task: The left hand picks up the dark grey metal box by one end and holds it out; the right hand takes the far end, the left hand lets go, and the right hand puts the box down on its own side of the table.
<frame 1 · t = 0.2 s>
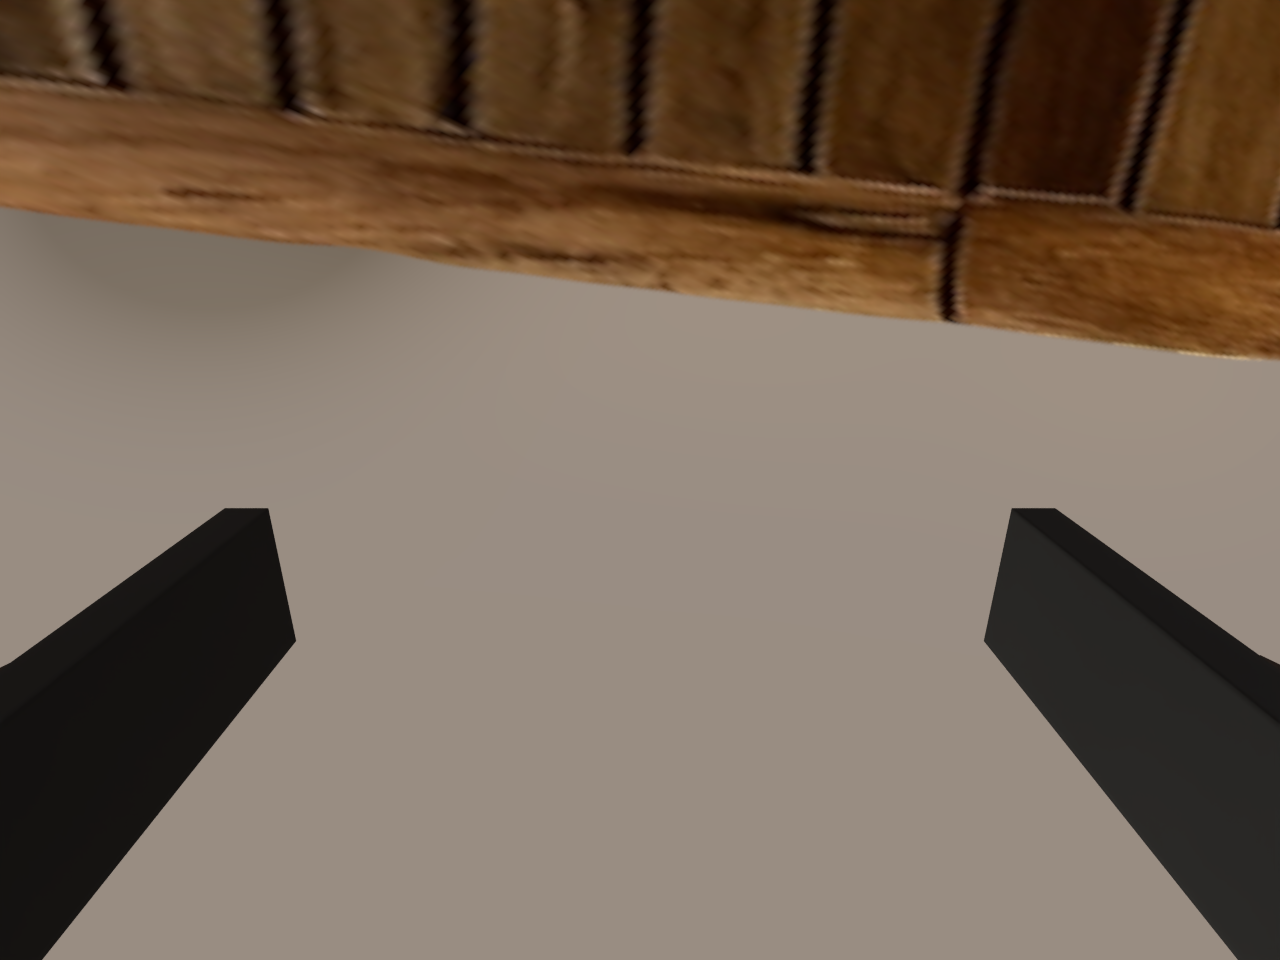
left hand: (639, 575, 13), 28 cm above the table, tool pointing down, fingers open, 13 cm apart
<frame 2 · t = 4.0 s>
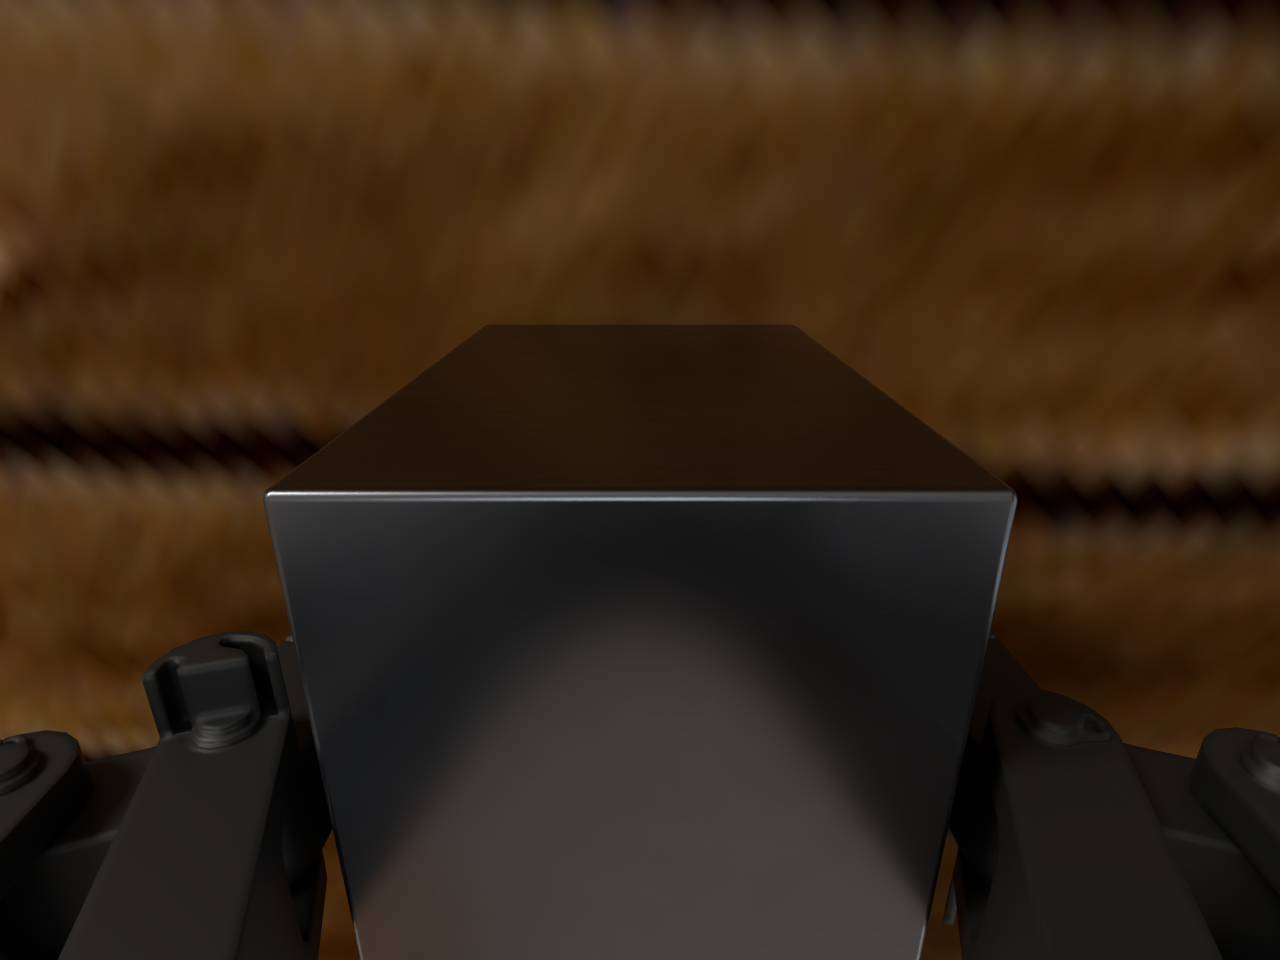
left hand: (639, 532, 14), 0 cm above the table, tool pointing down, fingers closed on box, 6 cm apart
box: (640, 776, 17), on the table, touching left hand
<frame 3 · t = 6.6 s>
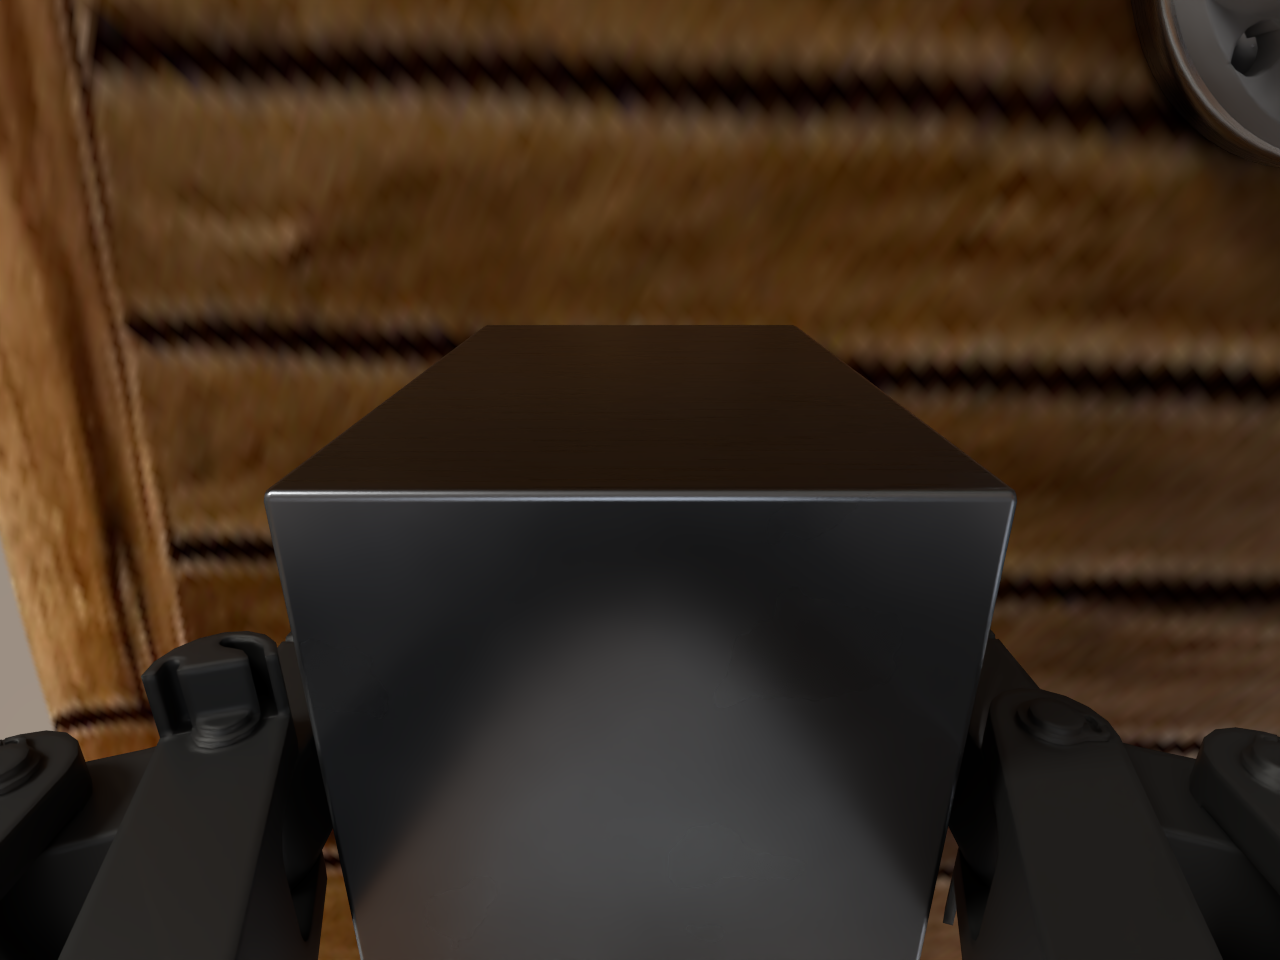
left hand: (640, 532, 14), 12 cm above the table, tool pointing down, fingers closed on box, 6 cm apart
box: (640, 776, 17), point 12 cm above the table, touching left hand
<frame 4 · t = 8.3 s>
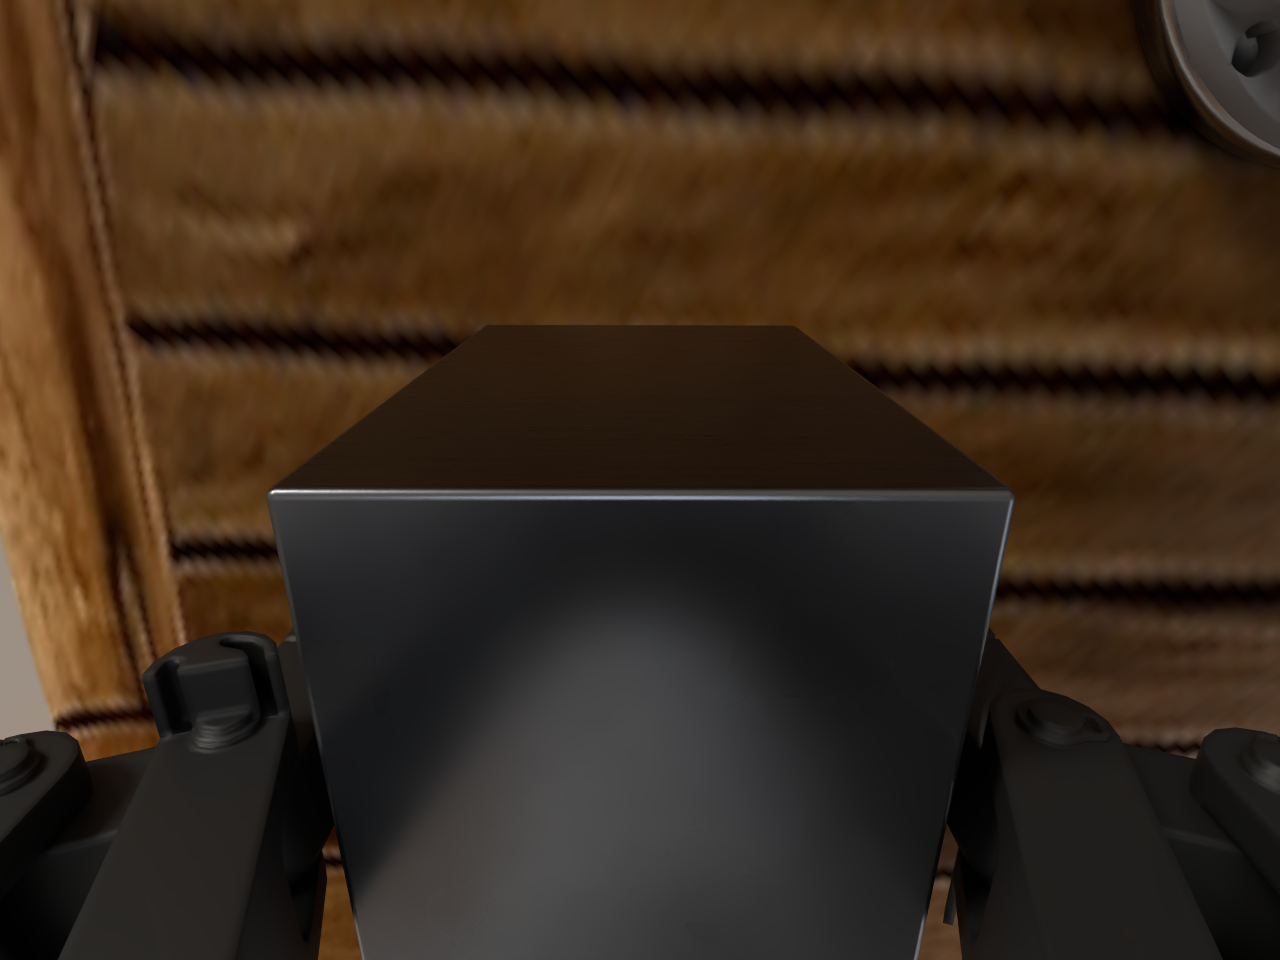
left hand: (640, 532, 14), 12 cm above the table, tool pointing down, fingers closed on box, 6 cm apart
box: (639, 775, 17), point 12 cm above the table, touching left hand, right hand
when the left hand's fingers open (12 cm above the table, at t = 9.3 s): box stays where it is, held by the right hand.
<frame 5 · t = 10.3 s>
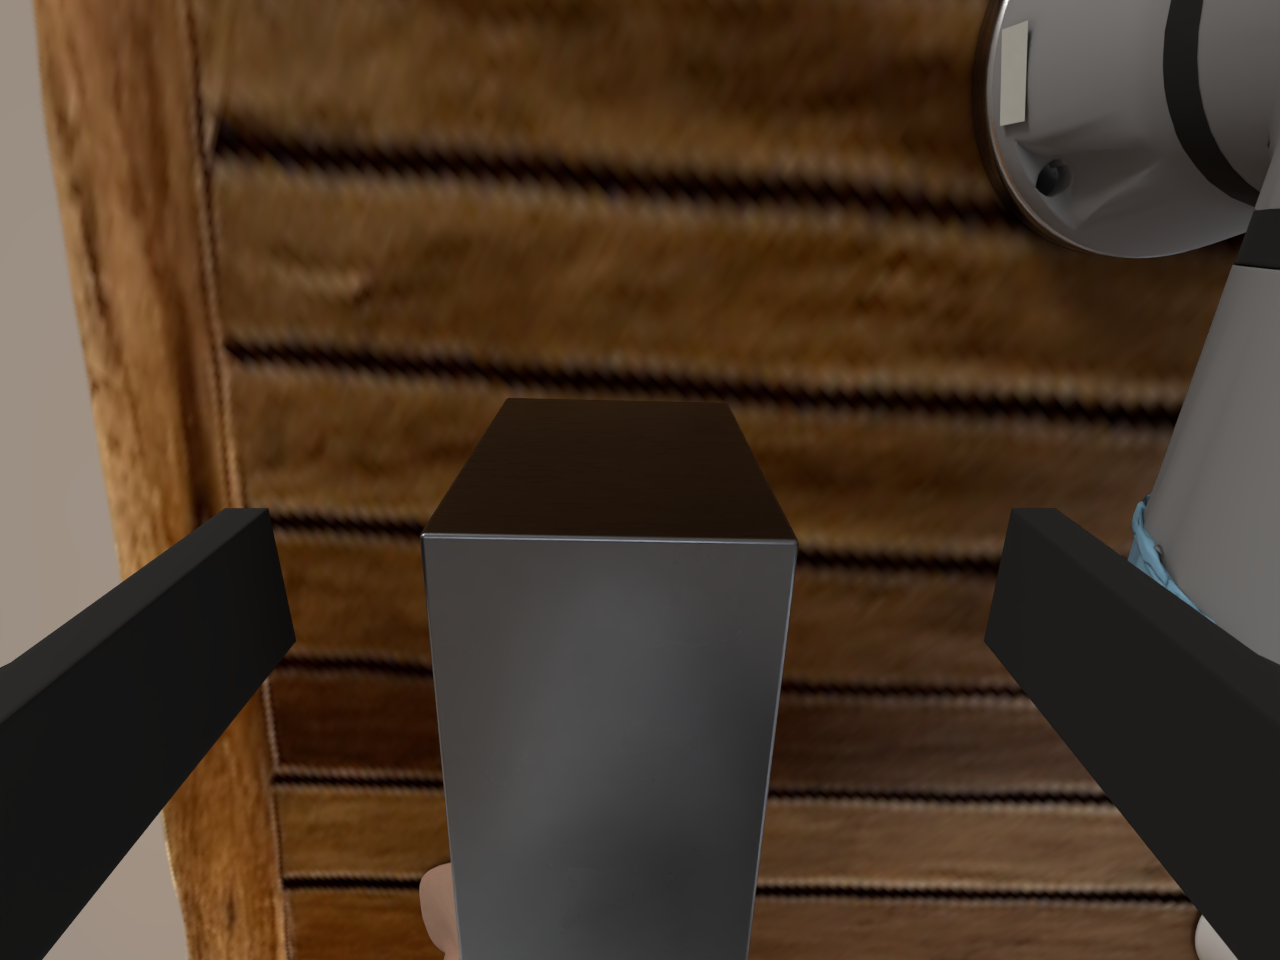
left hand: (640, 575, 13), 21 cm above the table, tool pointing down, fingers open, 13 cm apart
anatomical model: (517, 917, 46), on the table
box: (612, 729, 23), point 14 cm above the table, touching right hand
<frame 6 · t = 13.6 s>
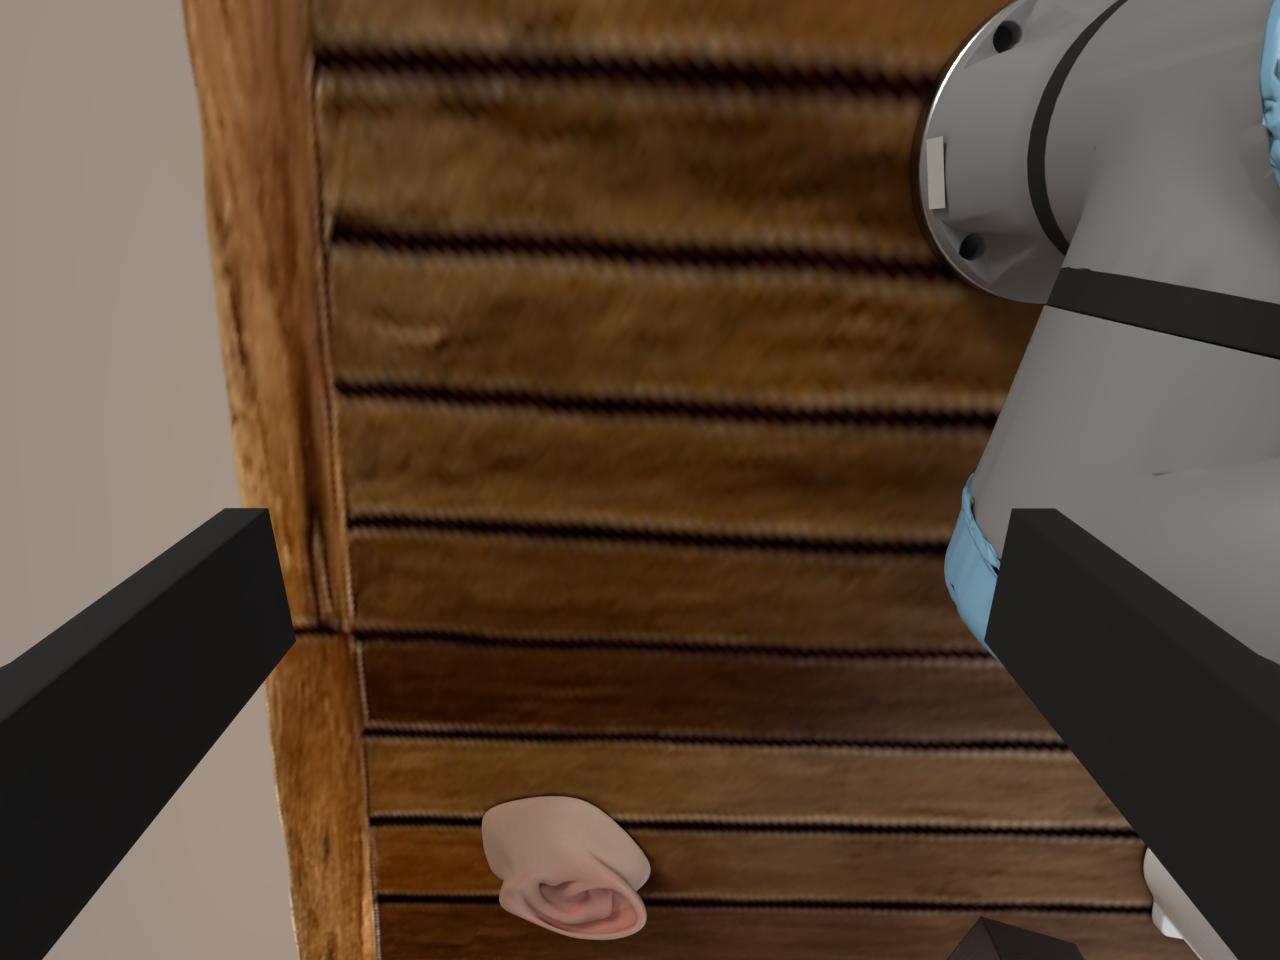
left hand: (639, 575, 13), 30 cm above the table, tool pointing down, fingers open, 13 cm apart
anatomical model: (562, 850, 55), on the table
when the right hand's fingers open (4 cm above the table, at t = 18.9 s): box stays where it is, on the table.
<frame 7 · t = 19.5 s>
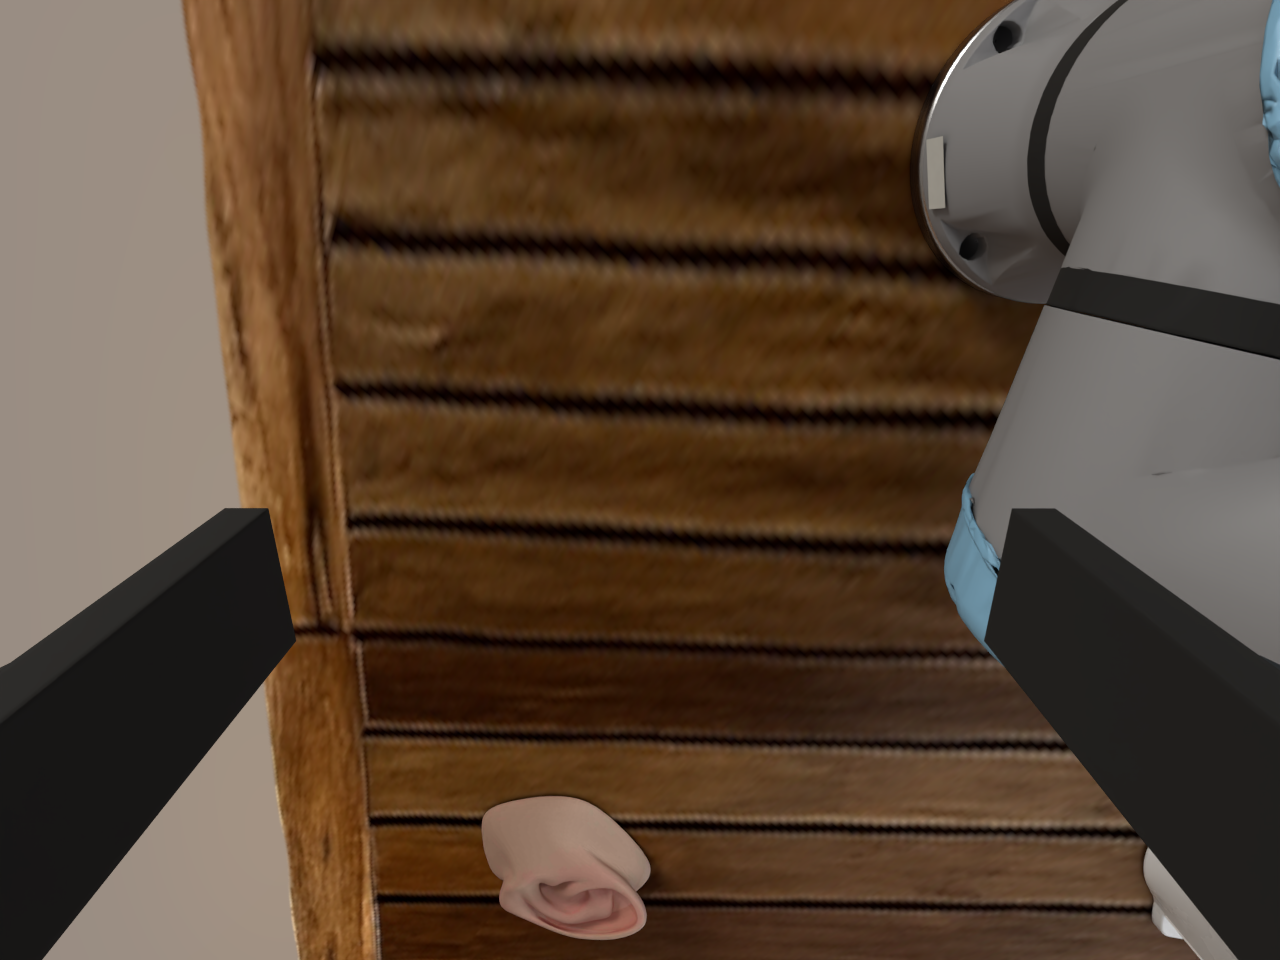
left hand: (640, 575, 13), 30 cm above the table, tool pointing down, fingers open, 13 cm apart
anatomical model: (562, 850, 55), on the table
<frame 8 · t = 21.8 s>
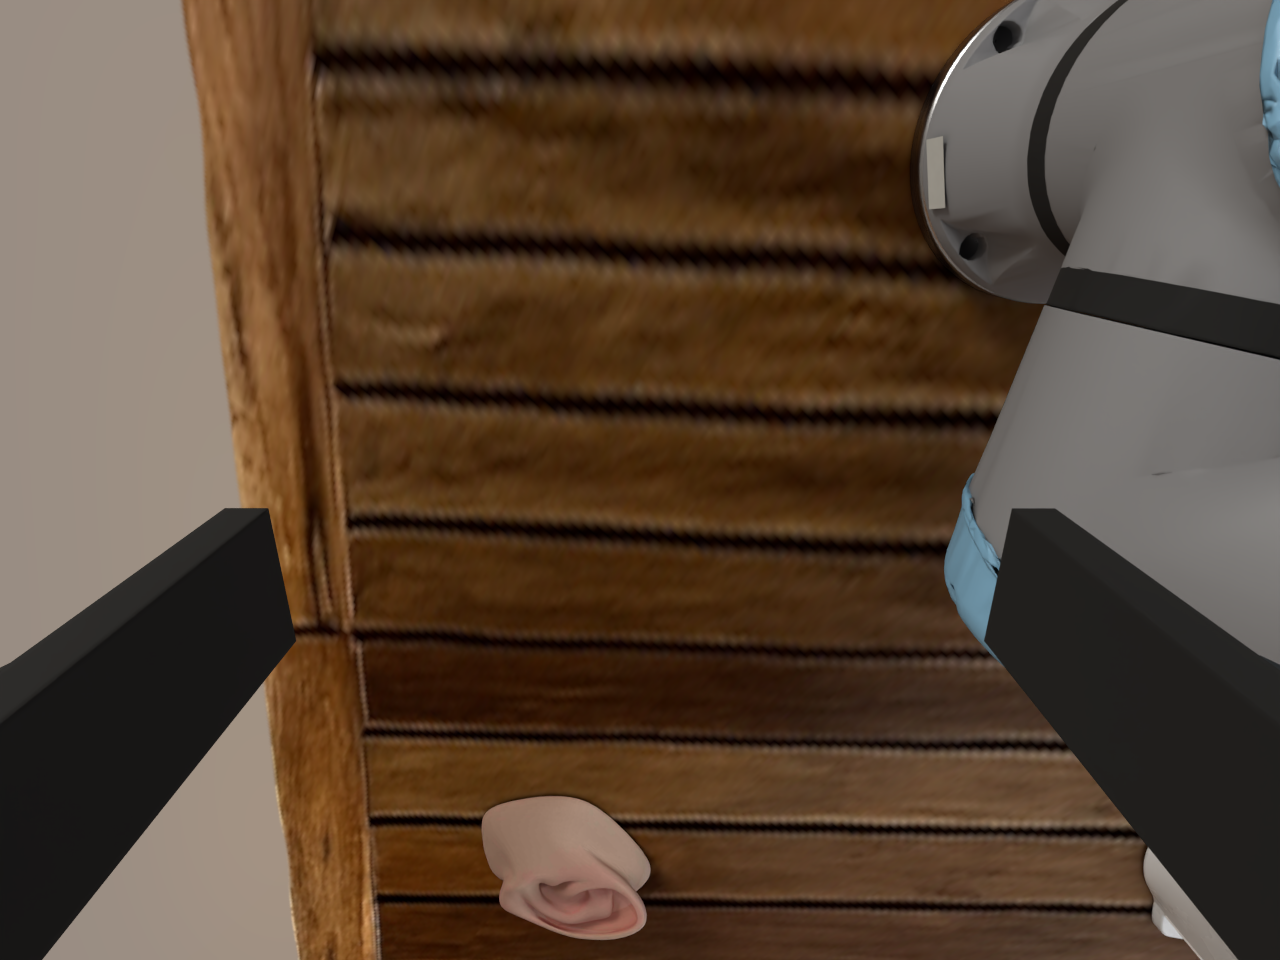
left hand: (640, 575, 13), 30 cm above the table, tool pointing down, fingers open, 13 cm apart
anatomical model: (562, 850, 55), on the table
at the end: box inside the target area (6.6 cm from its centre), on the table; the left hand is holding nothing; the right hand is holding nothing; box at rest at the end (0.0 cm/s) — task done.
